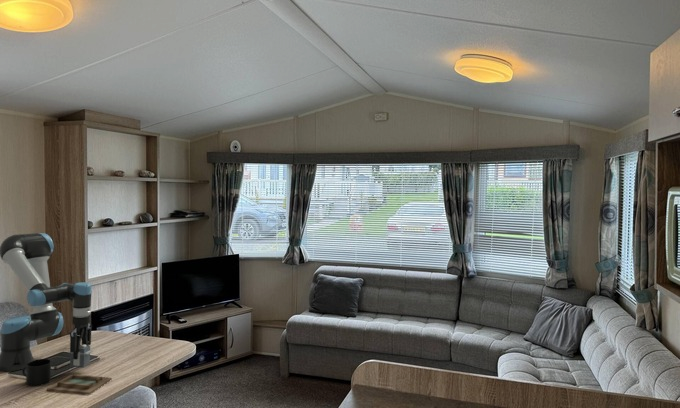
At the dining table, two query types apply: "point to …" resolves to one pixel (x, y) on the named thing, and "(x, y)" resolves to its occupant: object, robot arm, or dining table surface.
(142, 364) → the dining table surface
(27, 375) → the mug
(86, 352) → the servo
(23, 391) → the dining table surface
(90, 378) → the tray
